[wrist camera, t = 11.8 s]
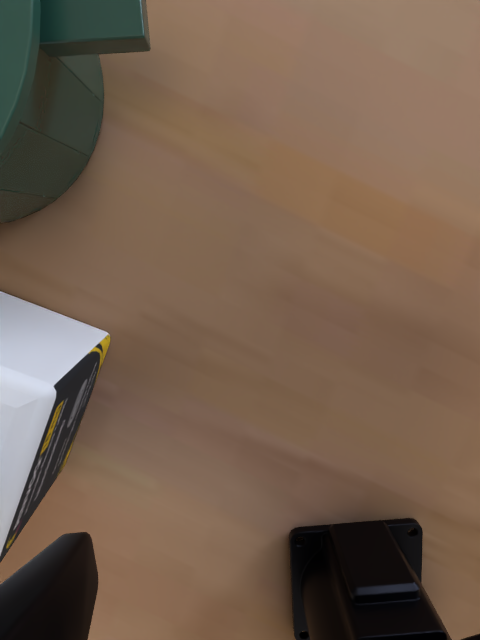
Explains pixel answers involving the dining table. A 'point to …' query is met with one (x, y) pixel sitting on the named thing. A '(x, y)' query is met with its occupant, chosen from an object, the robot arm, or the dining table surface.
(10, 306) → the medicine bottle
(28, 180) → the pot
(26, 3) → the pot lid
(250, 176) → the dining table surface
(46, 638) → the robot arm
